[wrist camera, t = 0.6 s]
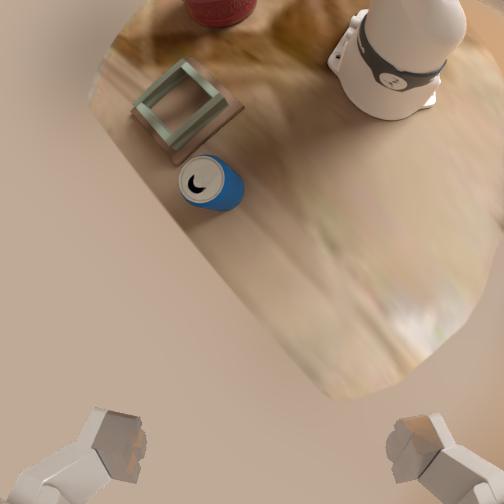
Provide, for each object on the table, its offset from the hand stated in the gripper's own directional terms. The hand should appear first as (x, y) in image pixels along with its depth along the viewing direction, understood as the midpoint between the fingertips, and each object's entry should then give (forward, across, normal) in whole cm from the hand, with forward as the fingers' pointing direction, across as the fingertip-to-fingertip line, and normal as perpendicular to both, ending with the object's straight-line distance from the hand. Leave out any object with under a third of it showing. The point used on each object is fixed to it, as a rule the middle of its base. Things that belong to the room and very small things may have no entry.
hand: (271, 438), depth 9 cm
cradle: (+47, +12, -13) cm, 50 cm away
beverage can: (+43, +5, 0) cm, 43 cm away
